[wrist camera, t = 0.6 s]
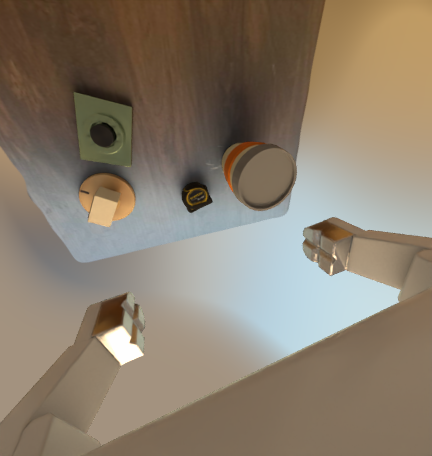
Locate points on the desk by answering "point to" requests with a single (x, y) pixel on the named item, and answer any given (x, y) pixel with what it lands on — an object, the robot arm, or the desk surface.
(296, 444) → the robot arm
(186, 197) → the tape measure
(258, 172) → the reusable coffee cup
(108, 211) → the tan cube with screen
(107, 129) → the button
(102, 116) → the base
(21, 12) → the desk surface
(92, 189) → the stand
